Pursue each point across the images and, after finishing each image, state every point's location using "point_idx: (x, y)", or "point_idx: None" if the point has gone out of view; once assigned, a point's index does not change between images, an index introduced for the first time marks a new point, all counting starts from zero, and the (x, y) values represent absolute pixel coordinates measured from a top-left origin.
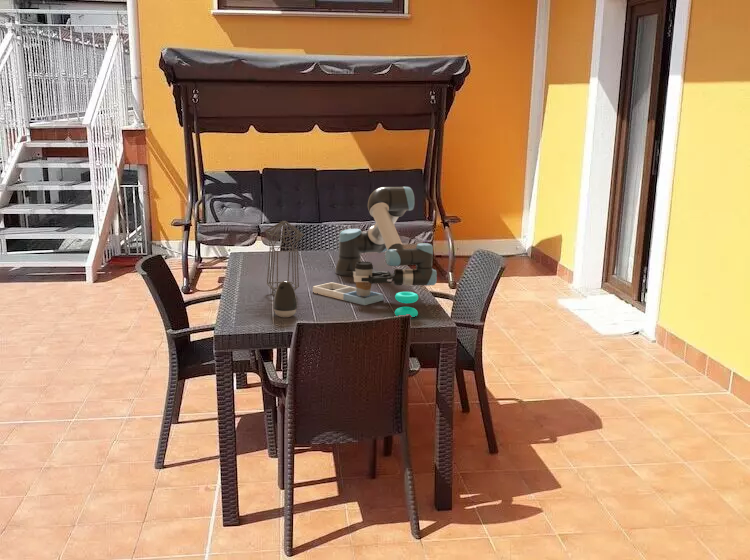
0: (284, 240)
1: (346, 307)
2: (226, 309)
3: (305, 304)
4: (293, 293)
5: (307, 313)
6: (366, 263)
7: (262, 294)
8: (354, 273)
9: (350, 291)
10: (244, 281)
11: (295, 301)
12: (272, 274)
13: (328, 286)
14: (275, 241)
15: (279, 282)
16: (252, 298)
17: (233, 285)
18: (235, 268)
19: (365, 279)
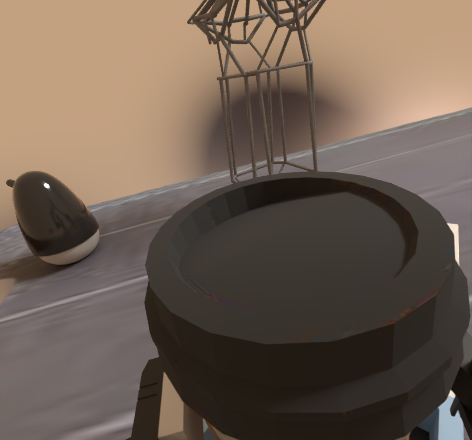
0: (207, 35)
1: (127, 388)
2: (152, 190)
3: None
4: (19, 214)
5: (81, 284)
6: (303, 248)
7: None
8: None
9: None
10: (348, 147)
11: (29, 237)
12: (231, 144)
13: None
14: (283, 46)
15: (298, 167)
16: (228, 184)
17: (309, 150)
18: (429, 119)
19: (142, 415)
